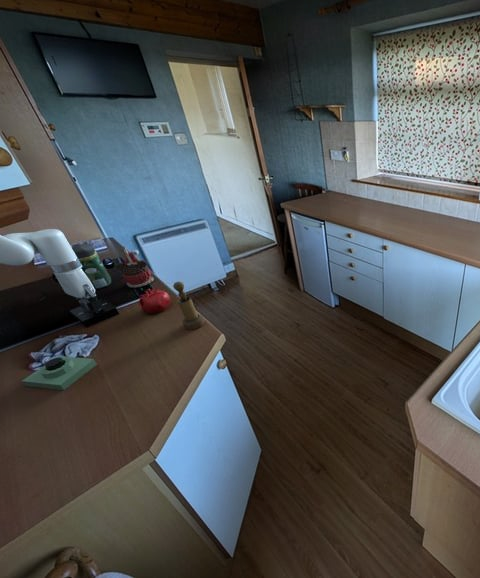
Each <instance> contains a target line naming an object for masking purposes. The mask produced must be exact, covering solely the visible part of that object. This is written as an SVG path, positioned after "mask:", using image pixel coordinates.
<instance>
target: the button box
mask: <svg viewBox="0 0 480 578" xmlns="http://www.w3.org/2000/svg"><path fill="white" fill-rule="evenodd" d="M55 358H62V359H63V361H64V362H65V364H64V365H63V366H61V367H60V368H58V369H55V370H51V371H49V370H48V369H47V368H46V367H45V366H44V365H42V366H41V367H40V368H39V369H37V370H35V371H34V372H32V373H31V374H29V375H28V376H27V377H25V378H24V379H23V380H21V382H22V384H24V385H25V387H31V388H38V389H39V388H42V389H50V390H58V391H65V390H67V389H68V388H69V387H71V386H72V385H73V384H74V383H75V382H77V381H78V380H79V379H80V378H82V377H83V376H85V375H86V374H87V373H89V371H90V370H92V369H93V368H95V367H96V366H97V365H98V362H97V361H96V360H95V359H94V358H87V357H86V358H85V357H75V356H67V355H65V356H64V355H58V356H56V357H55Z"/></svg>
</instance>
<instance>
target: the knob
mask: <svg viewBox="0 0 480 578" xmlns="http://www.w3.org/2000/svg"><path fill="white" fill-rule="evenodd" d="M89 297H90V296H87V298H89ZM79 303H80V304H79ZM79 303H78V304H79V306H80V305H81V306H82V308H83V309H84V311H85V312H91V311H90V309H89V308H88V306H87V304H86V303H87V302H86V301H85V299H84V298H82V299H80V300H79Z"/></svg>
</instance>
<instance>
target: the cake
mask: <svg viewBox="0 0 480 578" xmlns="http://www.w3.org/2000/svg"><path fill="white" fill-rule="evenodd" d="M122 249H123V251H124V253H125V258H124V262H119V263H117V264H116V265H115V266H116V269H117V270H120V271H122V274H121V276H122V278H123V281H125V282H127V283H126V285H127V287H129V288H134V289H135V288H140V287H143V286H146V285H149V284H151V283H153V282H154V279H155V278H154V277H153V276H151V275H152V272H151V270H150V268H149V267H147V266H148V265H149V262H148V261H147V260H145V259H139V258H138V257H136V256H138V255H139V253H140V252H139V250H137V249H134V250H132V251H130V252H128V250H127V248H126V246H122Z"/></svg>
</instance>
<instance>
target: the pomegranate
mask: <svg viewBox="0 0 480 578" xmlns="http://www.w3.org/2000/svg"><path fill="white" fill-rule="evenodd" d="M144 292H145V294H140V295H139V300H138V306H139V307H140V309H141V310H142V311H144V312H146V313H148V314H157V313H160V312H161V313H162V312H163V311H166V309H167V308H168V307H169V306H170V304H171V295H169V293H167V292H166V291H164V290H161V289H160V288H156V289H154V288H152V289H150V288H148V289H146V290H144Z"/></svg>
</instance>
